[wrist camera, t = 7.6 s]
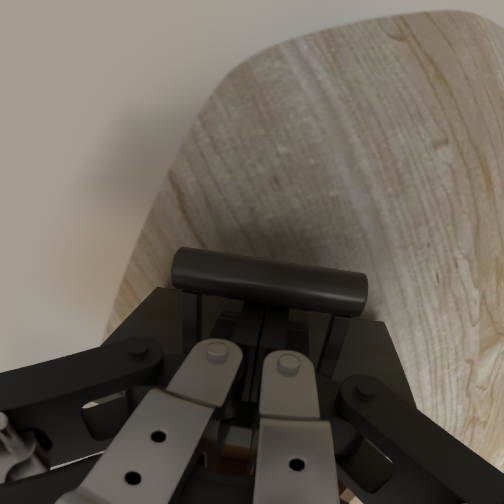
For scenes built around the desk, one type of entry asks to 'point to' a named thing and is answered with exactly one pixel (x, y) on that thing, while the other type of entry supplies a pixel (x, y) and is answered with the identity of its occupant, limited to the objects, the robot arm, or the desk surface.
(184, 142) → the desk surface
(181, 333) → the drawer
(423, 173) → the desk surface
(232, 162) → the desk surface
